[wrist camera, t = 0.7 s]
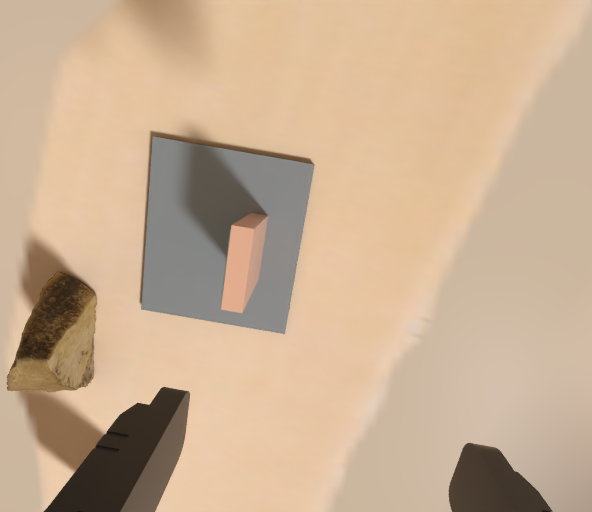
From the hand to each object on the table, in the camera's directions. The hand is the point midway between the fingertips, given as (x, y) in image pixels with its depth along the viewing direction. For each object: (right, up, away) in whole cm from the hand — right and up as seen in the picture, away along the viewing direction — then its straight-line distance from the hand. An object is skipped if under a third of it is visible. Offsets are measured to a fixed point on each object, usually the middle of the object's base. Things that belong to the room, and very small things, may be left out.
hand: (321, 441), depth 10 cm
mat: (-7, +7, +21) cm, 24 cm away
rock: (-23, -2, +24) cm, 33 cm away
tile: (-4, +6, +21) cm, 22 cm away
